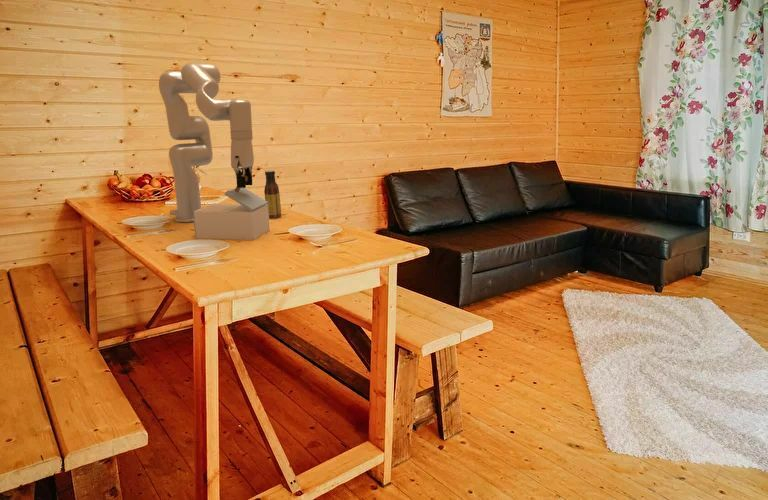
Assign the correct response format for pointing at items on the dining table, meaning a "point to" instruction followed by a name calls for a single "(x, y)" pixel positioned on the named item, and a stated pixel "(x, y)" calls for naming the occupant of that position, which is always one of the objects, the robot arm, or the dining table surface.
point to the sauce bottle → (272, 195)
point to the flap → (246, 197)
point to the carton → (230, 222)
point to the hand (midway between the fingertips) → (244, 185)
